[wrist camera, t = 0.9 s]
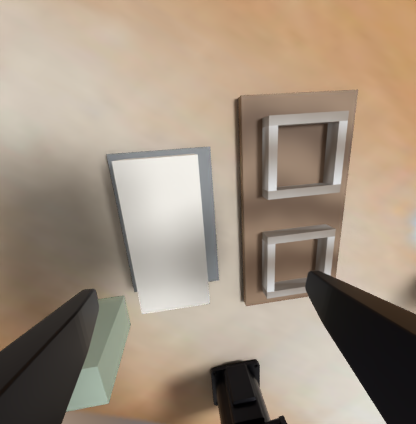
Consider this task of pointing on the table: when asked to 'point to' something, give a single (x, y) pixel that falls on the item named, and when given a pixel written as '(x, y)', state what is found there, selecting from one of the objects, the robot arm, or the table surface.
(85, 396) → the peg
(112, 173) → the board
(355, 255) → the table surface
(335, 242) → the build board
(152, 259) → the cover
